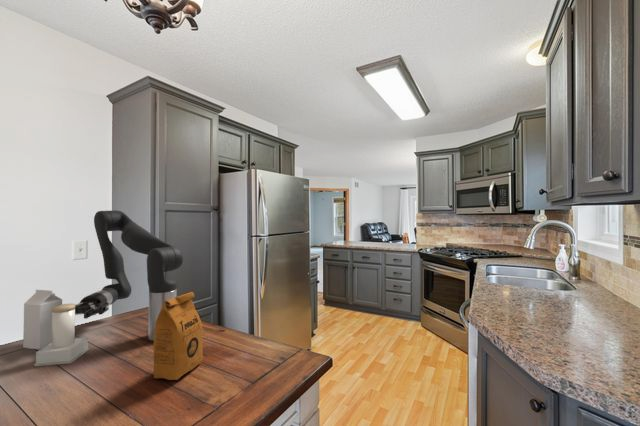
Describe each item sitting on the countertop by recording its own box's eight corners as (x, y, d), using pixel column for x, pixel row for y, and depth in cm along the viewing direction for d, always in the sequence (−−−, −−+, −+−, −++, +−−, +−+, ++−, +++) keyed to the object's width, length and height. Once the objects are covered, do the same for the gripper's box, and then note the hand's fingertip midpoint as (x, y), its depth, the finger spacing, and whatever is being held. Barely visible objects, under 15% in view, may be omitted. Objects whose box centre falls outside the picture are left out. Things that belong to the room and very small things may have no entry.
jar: (78, 340, 96) (79, 303, 97) (67, 347, 91) (68, 308, 91) (59, 341, 95) (59, 304, 95) (46, 349, 90) (47, 309, 90)
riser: (88, 349, 98) (89, 337, 99) (70, 363, 89) (71, 350, 89) (55, 351, 97) (56, 339, 97) (33, 366, 87) (34, 352, 87)
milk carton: (39, 350, 98) (40, 293, 98) (22, 348, 99) (23, 292, 99) (61, 341, 105) (62, 288, 105) (46, 339, 106) (47, 287, 106)
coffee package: (208, 363, 89) (208, 291, 89) (175, 386, 77) (176, 303, 78) (182, 358, 92) (183, 289, 93) (147, 379, 81) (148, 299, 81)
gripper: (75, 293, 110) (45, 306, 95) (117, 291, 113) (95, 303, 98) (75, 313, 110) (44, 329, 94) (117, 311, 113) (94, 326, 97)
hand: (70, 316), depth 96 cm, fingers open, 8 cm apart
